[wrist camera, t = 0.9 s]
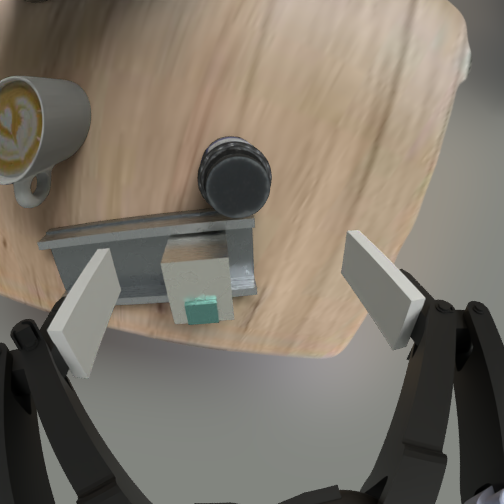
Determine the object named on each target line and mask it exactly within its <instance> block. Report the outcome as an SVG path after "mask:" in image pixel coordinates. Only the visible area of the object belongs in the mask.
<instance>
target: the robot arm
mask: <svg viewBox="0 0 504 504" xmlns="http://www.w3.org/2000/svg"><path fill="white" fill-rule="evenodd" d="M25 1H28V2H32V3H38V2H44V1H47V0H25ZM341 273H342V275H343V276H344V278H345V279H346V280H347V282H348V283H349V285H350V286H351V288H352V289H353V291H354V292H355V293H356V295H357V296H358V298H359V299H360V301H361V302H362V304H363V305H364V307H365V308H366V310H367V311H368V313H369V314H370V316H371V317H372V319H373V320H374V322H375V323H376V325H377V326H378V328H379V329H380V331H381V333H382V334H383V336H384V337H385V338H386V340H387V342H388V343H389V345H390V346H391V348H392V350H396V349H400V348H403V347H406V346H407V344H408V341H409V339H410V337H411V338H412V339H413V341H414V345H413V347H412V349H411V351H410V353H409V355H408V358H407V360H409V363H408V368H407V371H406V376H405V379H404V383H403V386H402V390H401V394H400V397H399V400H398V403H397V407H396V410H395V413H394V416H393V419H392V422H391V425H390V428H389V430H388V433H387V436H386V439H385V441H384V444H383V447H382V449H381V452H380V454H379V456H378V459H377V461H376V464H375V466H374V468H373V470H372V472H371V474H370V476H369V477H368V479H367V480H366V482H365V483H364V485H363V486H362V488H361V490H360V492H357V491H352V490H339V488H338V485H334V486H331V487H327V488H323V489H319V490H314V491H310V492H305V493H302V494H300V495H298V496H295V497H293V498H291V499H288V500H286V501H283V502H281V503H278V504H435V502H436V500H437V496H438V493H439V490H440V487H441V483H442V480H443V476H444V473H445V469H446V465H447V456H446V455H445V454H443V452H442V449H443V444H444V439H445V434H446V429H447V424H448V418H449V412H450V405H451V398H452V389H453V384H454V390H455V398H456V406H457V416H458V426H459V443H460V494H461V503H462V504H504V345H503V343H502V340H501V338H500V335H499V333H498V330H497V328H496V325H495V323H494V321H493V318H492V316H491V314H490V312H489V310H488V308H487V307H486V306H485V305H484V304H482V303H480V302H476V301H471V302H469V303H468V305H467V307H466V309H465V310H455V308H454V307H453V306H452V305H451V304H450V303H448V302H446V301H444V300H434V298H433V297H432V296H431V295H430V294H429V293H428V292H427V291H426V290H425V289H424V288H423V287H422V286H420V284H419V283H418V282H417V281H416V279H415V278H413V276H412V275H411V274H409V273H408V272H406V271H404V270H403V269H398V268H397V267H396V266H395V265H394V264H393V263H392V262H391V261H390V260H389V259H388V258H387V257H386V256H385V255H384V254H383V253H382V252H381V251H380V250H379V249H378V248H377V247H376V246H375V245H374V244H373V243H372V242H371V241H370V240H369V239H368V238H367V237H366V236H364V235H363V234H362V233H361V232H360V231H359V230H353V231H347V235H346V243H345V250H344V257H343V264H342V270H341ZM120 292H121V288H120V285H119V281H118V278H117V274H116V271H115V267H114V263H113V260H112V256H111V252H110V248H106V249H97V251H96V252H95V254H94V255H93V257H92V258H91V259H90V261H89V262H88V264H87V265H86V267H85V268H84V270H83V271H82V273H81V274H80V276H79V278H78V279H77V281H76V282H75V284H74V285H73V287H72V289H71V290H70V292H69V293H68V295H67V297H62V298H61V299H60V300H59V301H58V302H56V303H55V305H54V307H53V308H52V310H51V312H50V313H49V315H48V317H47V319H46V320H45V322H44V324H43V325H42V327H41V329H40V331H39V329H38V327H37V325H36V323H35V322H34V320H31V319H25V320H22V321H20V322H19V323H17V324H16V325H15V326H14V327H13V329H12V331H11V338H12V339H13V341H14V343H15V344H16V346H17V348H18V349H16V350H12V351H9V349H8V348H7V346H6V345H5V344H4V343H0V504H55V501H54V498H53V494H52V491H51V487H50V483H49V479H48V475H47V471H46V467H45V462H44V457H43V452H42V446H41V440H40V434H39V426H38V419H37V412H38V414H39V417H40V420H41V422H42V425H43V427H44V430H45V432H46V435H47V437H48V439H49V442H50V444H51V446H52V448H53V450H54V452H55V455H56V457H57V459H58V461H59V463H60V464H61V467H62V469H63V471H64V472H65V474H66V476H67V478H68V480H69V482H70V483H71V485H72V487H73V489H74V490H75V492H76V494H77V496H78V500H77V501H76V503H77V504H152V503H151V502H150V501H149V500H148V499H147V498H146V496H145V495H144V494H143V493H142V492H141V491H140V489H139V488H138V487H137V486H136V485H135V483H134V482H133V481H132V480H131V478H130V477H129V476H128V475H127V473H126V472H125V471H124V469H123V468H122V466H121V465H120V464H119V462H118V461H117V460H116V458H115V457H114V455H113V454H112V453H111V451H110V449H109V448H108V447H107V445H106V444H105V442H104V440H103V439H102V437H101V436H100V434H99V433H98V431H97V429H96V428H95V426H94V424H93V423H92V421H91V419H90V418H89V416H88V414H87V413H86V411H85V409H84V407H83V405H82V404H81V402H80V400H79V398H78V396H77V394H76V392H75V390H74V388H73V386H72V384H71V382H70V380H69V379H68V377H67V376H66V375H67V372H68V370H70V371H71V373H72V374H73V376H74V377H76V378H87V379H89V377H90V374H91V370H92V367H93V364H94V361H95V358H96V355H97V352H98V349H99V346H100V344H101V341H102V338H103V335H104V332H105V330H106V327H107V325H108V322H109V319H110V317H111V314H112V312H113V309H114V306H115V304H116V301H117V299H118V297H119V294H120ZM195 504H236V503H195Z"/></svg>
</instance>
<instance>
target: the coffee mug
mask: <svg viewBox="0 0 504 504" xmlns="http://www.w3.org/2000/svg"><path fill="white" fill-rule="evenodd" d="M90 122H91V108H90V103H89V100H88V97H87V95H86V93H85V92H84V90H83V89H82V88H81V87H80V86H79V85H78V84H76V83H74V82H72V81H68V80H61V79H52V78H42V77H31V76H11V77H7V78H5V79H3V80H1V81H0V184H2V185H8V184H14V192H15V197H16V200H17V202H18V204H19V205H20V206H22V207H24V208H33V207H36V206H38V205H40V204H41V203H42V202H43V201H44V200H45V198H46V197H47V196H48V193H49V191H50V186H51V172H52V169H53V167H54V165H56V164H57V163H59V162H61V161H63V160H66V159H67V158H69V157H71V156H72V155H73V154H74V153H76V151H77V150H78V149H79V148H80V147H81V145H82V144H83V142H84V140H85V138H86V136H87V134H88V131H89V127H90ZM35 176H36V177H37V188H36V190H35V192H34V193H33V194H32V192H31V182H32V179H33V178H34V177H35Z"/></svg>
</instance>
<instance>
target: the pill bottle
mask: <svg viewBox="0 0 504 504" xmlns="http://www.w3.org/2000/svg"><path fill="white" fill-rule="evenodd" d="M271 178H272V174H271V169H270V165H269V163H268V161H267V159H266V158H265V156H264V155H263V154H262V153H261V152H260V151H259V150H258V149H257V148H255V147H254V146H253V145H251V144H250V143H249V142H247V141H246V140H244V139H242V138H240V137H234V136H228V137H222V138H219V139H217V140H215V141H214V142H212V143H211V144H210V145H209V147H208V148H207V149H206V150H205V152H204V154H203V157H202V160H201V164H200V167H199V170H198V186H199V190H200V192H201V194H202V196H203V198H204V199H205V200H206V202H207V203H208V204H209V205H211V206H212V207H213V208H214V209H215V210H216V211H217V212H218V213H220V214H221V215H223V216H226V217H229V218H245V217H248V216H251V215H253V214H255V213H256V212H258V211H259V210H260V209H261V208H262V207H263V206H264V204H265V203H266V201H267V199H268V196H269V193H270V186H271V180H272V179H271Z"/></svg>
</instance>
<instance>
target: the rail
mask: <svg viewBox="0 0 504 504" xmlns="http://www.w3.org/2000/svg"><path fill="white" fill-rule="evenodd" d="M254 227H255V220H254V216H253V215H251V216H248V217H245V218H229V217H226V216H223V215H221V214H220V213H218V212H217V211H216V210H215V209H214V208H212V209H201V210H191V211H181V212H172V213H162V214H154V215H145V216H137V217H129V218H121V219H113V220H106V221H99V222H92V223H85V224H78V225H72V226H66V227H59V228H53V229H49V230H48V231H47V232H46V235H45V236H44V237H43V238H42V239H41V240H40V241H39V242H37V243H38V246H39V250H45V249H51V250H52V254H53V257H54V259H55V262H56V265H57V268H58V271H59V274H60V276H61V279H62V282H63V284H64V287H65V289H66V291H65V293H64V294H63V296H62V297H67V295H68V293H69V292H70V290H71V289H72V287H73V285H74V284H75V282H76V281H77V279H78V278H79V276H80V274H81V273H82V271H83V270H84V268H85V267H86V265H87V264H88V262H89V261H90V259H91V258H92V257H93V255H94V254H95V252H96V251H97V249H106V248H110V252H111V256H112V260H113V263H114V267H115V271H116V274H117V278H118V281H119V285H120V288H121V292H120V294H119V297H118V299H117V301H116V304H115V305H130V304H147V303H163V302H169V303H170V307H171V311H172V315H173V319H174V323H175V324H184V323H188V324H189V325H193V324H207V323H219V321H222V320H233V319H234V311H233V301H232V297H237V296H247V295H257V286H256V282H255V278H254V262H253V236H252V228H254ZM62 297H61V298H62Z"/></svg>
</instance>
